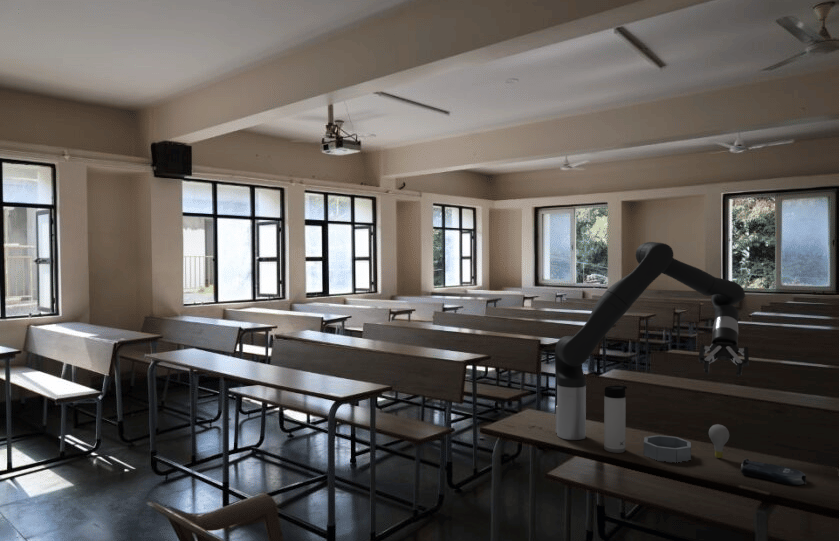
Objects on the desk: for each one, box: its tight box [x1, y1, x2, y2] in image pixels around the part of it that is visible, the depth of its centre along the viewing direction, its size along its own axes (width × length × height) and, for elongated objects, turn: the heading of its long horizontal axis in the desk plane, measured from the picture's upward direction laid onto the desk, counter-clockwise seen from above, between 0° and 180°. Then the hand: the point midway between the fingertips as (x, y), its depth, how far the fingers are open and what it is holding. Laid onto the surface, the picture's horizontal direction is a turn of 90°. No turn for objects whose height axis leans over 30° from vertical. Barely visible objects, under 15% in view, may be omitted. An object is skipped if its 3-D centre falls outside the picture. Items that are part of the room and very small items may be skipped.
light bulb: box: [708, 423, 730, 459], centre depth 179 cm, size 5×6×10 cm
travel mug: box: [603, 384, 627, 454], centre depth 187 cm, size 6×7×20 cm
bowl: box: [643, 434, 692, 464], centre depth 182 cm, size 13×13×4 cm
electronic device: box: [740, 457, 807, 486], centre depth 164 cm, size 9×6×15 cm
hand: (722, 374), depth 189 cm, fingers open, 8 cm apart
